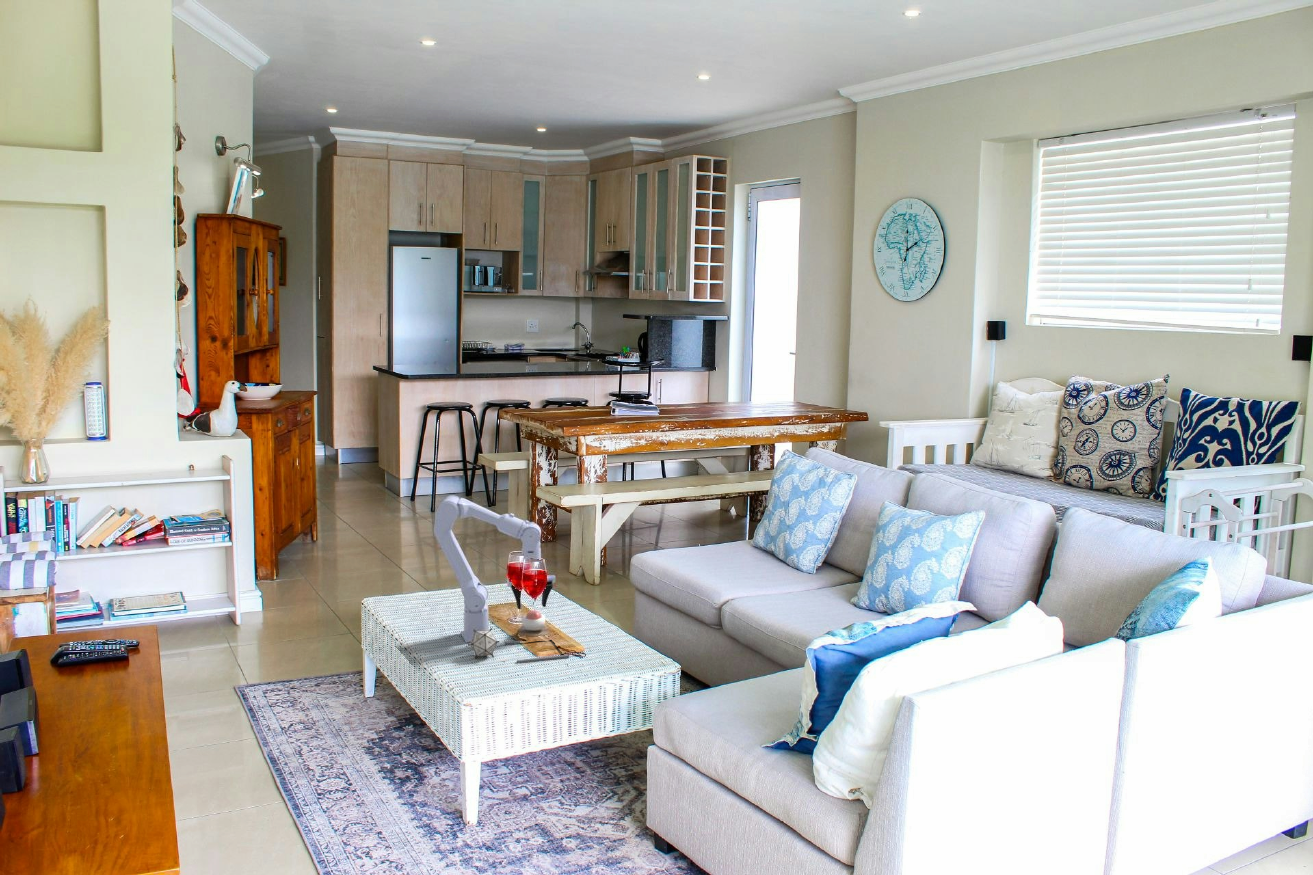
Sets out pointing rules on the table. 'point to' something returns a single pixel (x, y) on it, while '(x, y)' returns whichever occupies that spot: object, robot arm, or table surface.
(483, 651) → the game die
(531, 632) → the dome base
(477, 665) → the table surface
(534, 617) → the dome
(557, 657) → the frame
